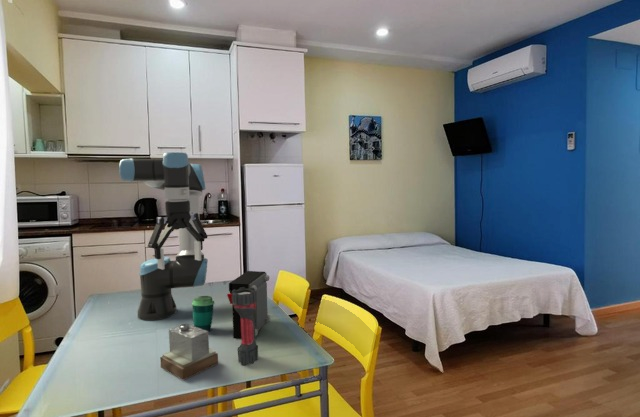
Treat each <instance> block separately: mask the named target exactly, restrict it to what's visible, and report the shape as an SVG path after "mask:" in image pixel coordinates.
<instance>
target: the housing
mask: <svg viewBox="0 0 640 417" xmlns="http://www.w3.org/2000/svg"><path fill="white" fill-rule="evenodd" d="M168 339H169V341H168V344H169V352H171V353H174V354H176V355H178V356H181V357H183V358H185V359H187V360H190V361H195V360H197V359H199V358H201V357H203V356H205V355H207V354H209V348H210V344H209V343H210V342H209V332H208V331H206V330H203V329H200V328H198V327H195V326H194V325H192V324H189V323H183V324H180V325H178V326H174V327H173V328H170V329H168Z"/></svg>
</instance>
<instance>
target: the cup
mask: <svg viewBox="0 0 640 417" xmlns="http://www.w3.org/2000/svg"><path fill="white" fill-rule="evenodd" d="M214 305H215V301H214V300H213V296H209V295H201V296H197V297H195V298H193V301H192V302H191V307H192V320H193V326H195V327H198V328H200V329H203V330H206V331H208V333H209V332H210V331H211V330H212V329H211V328H212V324H213V316H214Z"/></svg>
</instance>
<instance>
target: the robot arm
mask: <svg viewBox="0 0 640 417" xmlns="http://www.w3.org/2000/svg"><path fill="white" fill-rule="evenodd" d="M162 157H163V158H122V159H121V160H120V161H119V166H118V167H119V168H118V171H119V177H120V179H121V180H122V181H123V182H140V183H144V185H145V186H147V187H149V188H152V189H158V190H162V191H164V199H165V200H166V201H165V202H164V206H165V207H164V208H165V213H166V215H165V217H162V216H157V217H156V221H155V222H156V223H155V226H154V229H153V231H152V234H151V236H150V239H149V241H148V242H147V247H148V248H150V249H153V250H154V258H151V259H148V260H146V261H144V262H142V263H141V264H140V267H139V268H140V269H139V277H140V279H139V280H140V293H141V294H140V297H141V298H140V301H139V305H138V309H137V311H136V313H137V318H138V319H139V318H140V319H139V320H142V319H143V320H142V321H155V320H156V321H157V320H162V319H166V318H170V317H171V316H173V315H175V314H176V313H177V310H178V309H177V305H176V302H175V300H174V297H173V294H172V289H180V288H181V289H184V288H194V287H195V288H196V287H202V286H203V285H205V283H206V279H207V272H208V258H206V257H205V254H204V252H203V248H204V247H203V243H204V241H205V239H208V234H207V232H206V230H205V228H204V226H203V224H202V223H201V219H200V196H203V191H204V190H206V182H205V177H204V170H203V168H202V167H203V166H202V165H201V164H199V163H189V155H188V153H186V152H176V151H175V152H173V151H171V152H168V151H167V152H164V153H163V155H162ZM165 224H166V225H165ZM164 225H165V226H164ZM175 230H178V243H179V245H178V248H179V250H178V251H179V252H178V253H177V254H176V255H175V259H174V260H171V259H170V257H169V256H165V252H164V251H165V250H164V248H162V247H163V246H164V244H165V243H166V241H167V240H168V238H169V237H170V235H171V234H172V233H173V232H174V231H175Z"/></svg>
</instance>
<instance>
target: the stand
mask: <svg viewBox="0 0 640 417" xmlns="http://www.w3.org/2000/svg"><path fill="white" fill-rule="evenodd" d="M218 364H219V353H218V352H216V350H214V349H211V348H210V347H209V354H207V355H205V356H203V357H201V358H199V359H197V360H195V361H190V360H187V359H185V358H183V357H181V356H178V355H176V354H174V353H171V352H170V351H168V352H165V353H163V354H162V356H160V368H161V369H163V370H165V371H167V372H168V373H169V374H172V375H174V376H175V377H177V378H179V379H180V380H182V381H184V380H186V379H189V378H191V377H193V376H195V375H197V374H199V373H201V372H203V371H205V370H208V369H210V368H212V367H214V366H216V365H218Z"/></svg>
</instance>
